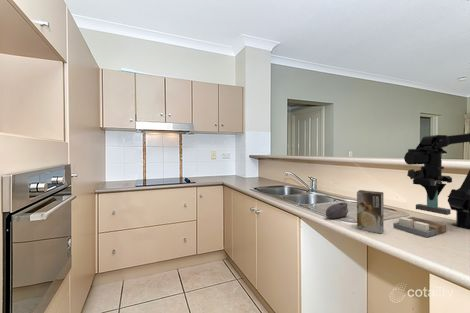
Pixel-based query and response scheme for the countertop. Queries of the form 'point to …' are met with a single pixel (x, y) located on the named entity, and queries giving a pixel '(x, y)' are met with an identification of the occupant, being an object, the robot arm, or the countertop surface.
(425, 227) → the tile
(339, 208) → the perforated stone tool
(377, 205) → the coffee box
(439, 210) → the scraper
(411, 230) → the box
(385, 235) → the countertop surface
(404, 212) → the countertop surface
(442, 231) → the walnut board
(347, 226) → the countertop surface
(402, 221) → the tile
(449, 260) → the countertop surface
